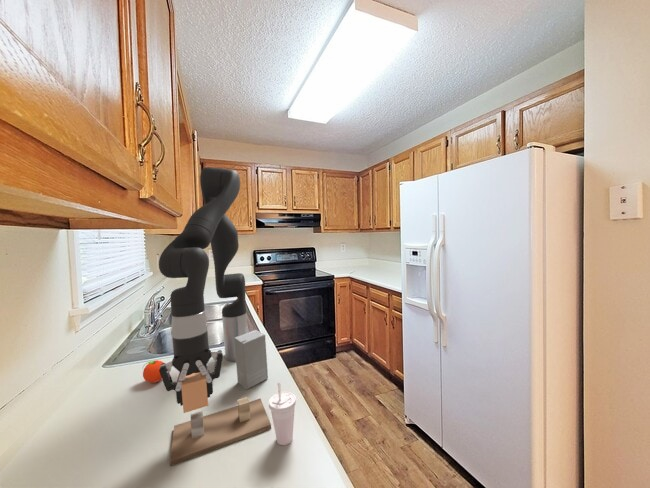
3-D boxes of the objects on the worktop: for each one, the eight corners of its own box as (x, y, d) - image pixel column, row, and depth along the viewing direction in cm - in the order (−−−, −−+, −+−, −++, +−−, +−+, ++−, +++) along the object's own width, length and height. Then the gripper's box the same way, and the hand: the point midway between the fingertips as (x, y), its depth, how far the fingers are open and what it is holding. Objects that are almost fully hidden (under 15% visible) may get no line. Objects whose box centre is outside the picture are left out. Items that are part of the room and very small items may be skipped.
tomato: (135, 387, 89) (133, 366, 88) (150, 375, 96) (148, 356, 95) (158, 387, 88) (156, 366, 88) (171, 375, 95) (170, 356, 95)
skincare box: (258, 372, 94) (255, 328, 93) (269, 379, 89) (266, 333, 88) (235, 383, 88) (232, 336, 87) (246, 391, 83) (243, 341, 82)
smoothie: (269, 433, 65) (265, 378, 64) (294, 425, 68) (291, 372, 67) (273, 454, 59) (269, 393, 58) (301, 444, 62) (298, 385, 61)
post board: (174, 429, 68) (172, 408, 68) (260, 401, 78) (259, 383, 78) (170, 465, 58) (168, 441, 57) (271, 428, 67) (269, 407, 67)
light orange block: (184, 400, 66) (182, 374, 66) (207, 394, 68) (205, 368, 68) (183, 413, 61) (181, 385, 61) (208, 405, 64) (206, 378, 63)
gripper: (220, 320, 70) (225, 383, 71) (157, 332, 64) (163, 400, 65) (223, 329, 64) (228, 398, 64) (152, 343, 57) (159, 419, 58)
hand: (195, 399), depth 65 cm, fingers closed on light orange block, 5 cm apart
